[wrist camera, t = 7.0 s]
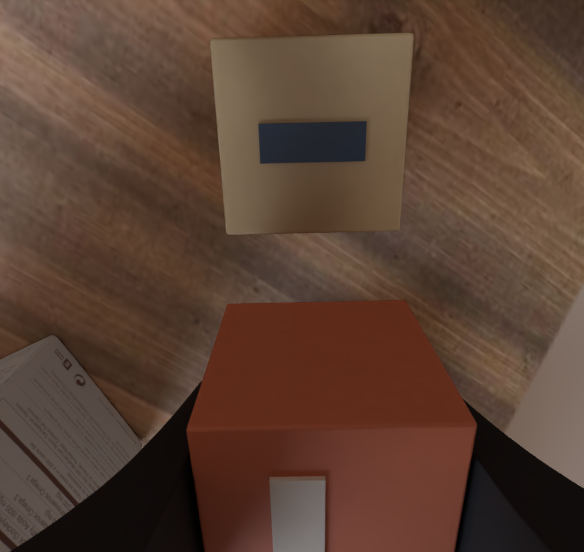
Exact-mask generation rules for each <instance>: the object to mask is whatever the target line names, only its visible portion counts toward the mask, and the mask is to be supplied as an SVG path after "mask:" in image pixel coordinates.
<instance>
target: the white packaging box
mask: <svg viewBox="0 0 584 552" xmlns="http://www.w3.org/2000/svg"><path fill="white" fill-rule="evenodd" d="M141 448H142V443H141V442H140V440H139V438H138V437H137V436H136V435H135V433H134V432H133V431H132V429H131V428H130V427H129V425H128V424H127V423H126V422H125V421H124V419H123V418H122V417H121V415H120V414H119V413H118V412H117V410H116V409H115V408H114V407H113V405H112V404H111V403H110V402H109V401H108V399H107V398H106V396H105V395H104V394H103V393H102V392H101V390H100V389H99V388H98V387H97V385H96V384H95V383H94V382H93V380H92V379H91V378H90V377H89V375H88V374H87V373H86V372H85V371H84V369H83V368H82V367H81V365H80V364H79V363H78V362H77V361H76V359H75V358H74V357H73V356H72V355H71V353H70V352H69V351H68V350H67V348H66V347H65V346H64V345H63V344H62V342H61V341H60V340H59V339H58V338H57V337H56V336H55V335H51V336H48V337H46V338H44V339H42V340H40V341H38V342H36V343H34V344H31V345H29V346H27V347H25V348H23V349H21V350H19V351H17V352H15V353H13V354H11V355H8V356H6V357H4V358H2V359H0V552H10V551H11V550H13V549H15V548H16V547H18V546H19V545H21V544H22V543H24V542H25V541H27V540H29V539H30V538H32V537H33V536H35V535H36V534H38V533H39V532H40V531H42V530H43V529H45V528H46V527H48V526H49V525H51V524H52V523H54V522H55V521H56V520H58V519H59V518H61V517H62V516H63V515H65V514H66V513H67V512H69V511H70V510H71V509H73V508H74V507H75V506H76V505H78V504H79V503H80V502H82V501H83V500H84V499H86V498H87V497H88V496H90V495H91V494H92V493H94V492H95V491H96V490H97V489H99V488H100V487H101V486H102V485H104V484H105V483H106V482H107V481H108V480H109V479H110V478H112V477H113V476H114V475H115V474H116V473H117V472H118V471H119V470H121V469H122V468H123V467H124V466H125V465H126V464H127V463H128V462H129V461H130V460H131V459H132V458H133V457H134V456H135V455H136V454H137V453H138V452H139V451H140V450H141Z"/></svg>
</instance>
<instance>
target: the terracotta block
mask: <svg viewBox="0 0 584 552" xmlns="http://www.w3.org/2000/svg"><path fill="white" fill-rule="evenodd" d="M476 429H477V424H476V421H475V420H474V418H473V416H472V415H471V413H470V411H469V409H468V408H467V406H466V404H465V402H464V401H463V399H462V397H461V396H460V394H459V392H458V390H457V389H456V387H455V385H454V383H453V382H452V380H451V378H450V377H449V375H448V373H447V371H446V370H445V368H444V366H443V364H442V363H441V361H440V359H439V358H438V356H437V354H436V352H435V351H434V349H433V347H432V345H431V344H430V342H429V340H428V338H427V337H426V335H425V333H424V332H423V330H422V328H421V326H420V325H419V323H418V321H417V319H416V318H415V316H414V314H413V313H412V311H411V309H410V307H409V306H408V304H407V302H406V301H404V300H390V301H340V302H290V303H241V304H228V305H227V307H226V310H225V313H224V316H223V319H222V322H221V325H220V328H219V332H218V335H217V338H216V341H215V344H214V347H213V350H212V353H211V356H210V359H209V362H208V365H207V368H206V371H205V374H204V377H203V380H202V383H201V386H200V390H199V393H198V396H197V399H196V402H195V405H194V408H193V411H192V414H191V417H190V420H189V423H188V426H187V429H186V431H187V438H188V445H189V452H190V458H191V465H192V472H193V479H194V486H195V493H196V499H197V506H198V513H199V520H200V527H201V534H202V540H203V547H204V552H455V548H456V542H457V537H458V531H459V525H460V520H461V514H462V508H463V503H464V497H465V491H466V486H467V480H468V474H469V469H470V463H471V457H472V452H473V446H474V440H475V434H476Z"/></svg>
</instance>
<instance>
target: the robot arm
mask: <svg viewBox="0 0 584 552" xmlns="http://www.w3.org/2000/svg"><path fill="white" fill-rule="evenodd" d="M201 383H202V381H201V382H200V383H199V385H198V386H197V387H196V388H195V390H194V391H193V392H192V393H191V395H190V396H189V397H188V398H187V399H186V401H185V402H184V403H183V404H182V405H181V407H180V408H179V409H178V410H177V411H176V413H175V414H174V415H173V416H172V417H171V418H170V419H169V421H168V422H167V423H166V424H165V425H164V426H163V427H162V428H161V430H160V431H159V432H158V433H157V434H156V435H155V436H154V437H153V438H152V439H151V440H150V441H149V442H148V443H147V444H146V445H145V446H144V447H143V448H142V449H141V450H140V451H139V452H138V453H137V454H136V455H135V456H134V457H133V458H132V459H131V460H130V461H129V462H128V463H127V464H126V465H125V466H124V467H123V468H122V469H121V470H119V471H118V472H117V473H116V474H115V475H114V476H113V477H112V478H110V479H109V480H108V481H107V482H106V483H105V484H104V485H102V486H101V487H100V488H99V489H97V490H96V491H95V492H94V493H92V494H91V495H90V496H88V497H87V498H86V499H84V500H83V501H82V502H80V503H79V504H78V505H76V506H75V507H74V508H73V509H71V510H70V511H69V512H67V513H66V514H65V515H63V516H62V517H61V518H59V519H58V520H56V521H55V522H54V523H52V524H51V525H49V526H48V527H46V528H45V529H43V530H42V531H40V532H39V533H38V534H36V535H35V536H33V537H32V538H30V539H29V540H27V541H25V542H24V543H22V544H21V545H19V546H18V547H16V548H15V549H13V550H11V551H10V552H204V547H203V540H202V534H201V527H200V520H199V513H198V506H197V499H196V493H195V486H194V479H193V472H192V465H191V458H190V452H189V445H188V438H187V431H186V429H187V426H188V423H189V420H190V417H191V414H192V411H193V408H194V405H195V402H196V399H197V396H198V393H199V390H200V386H201ZM463 401H464V402H465V404H466V406H467V408H468V409H469V411H470V413H471V415H472V416H473V418H474V420H475V421H476V424H477V429H476V434H475V440H474V446H473V452H472V457H471V463H470V469H469V474H468V480H467V486H466V491H465V497H464V503H463V508H462V514H461V520H460V525H459V531H458V537H457V542H456V548H455V552H584V488H582V487H580V486H579V485H577V484H576V483H574V482H572V481H571V480H569V479H568V478H566V477H565V476H563V475H562V474H560V473H558V472H557V471H556V470H554V469H552V468H551V467H549V466H548V465H546V464H545V463H543V462H542V461H540V460H539V459H537V458H536V457H535V456H533V455H532V454H530V453H529V452H528V451H526V450H525V449H524V448H522V447H521V446H520V445H519V444H517V443H516V442H515V441H513V440H512V439H511V438H509V437H508V436H507V435H505V434H504V433H503V432H502V431H500V430H499V429H498V428H497V427H495V426H494V425H493V424H492V423H490V422H489V421H488V420H487V419H486V418H484V417H483V416H482V415H481V414H480V413H478V412H477V411H476V410H475V409H474V408H473V407H472V406H470V405H469V404H468V403H467V402H466V401H465V400H464V399H463Z"/></svg>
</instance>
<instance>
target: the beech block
mask: <svg viewBox="0 0 584 552" xmlns="http://www.w3.org/2000/svg"><path fill="white" fill-rule="evenodd" d="M413 43H414V35H413V34H412V33H381V34H344V35H307V36H271V37H234V38H212V39H211V40H210V49H211V61H212V73H213V84H214V96H215V108H216V120H217V132H218V144H219V155H220V167H221V179H222V191H223V203H224V214H225V226H226V233H227V234H229V235H240V234H285V233H331V232H376V231H398V230H399V229H400V219H401V206H402V192H403V178H404V165H405V151H406V138H407V124H408V111H409V97H410V83H411V70H412V56H413Z"/></svg>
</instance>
